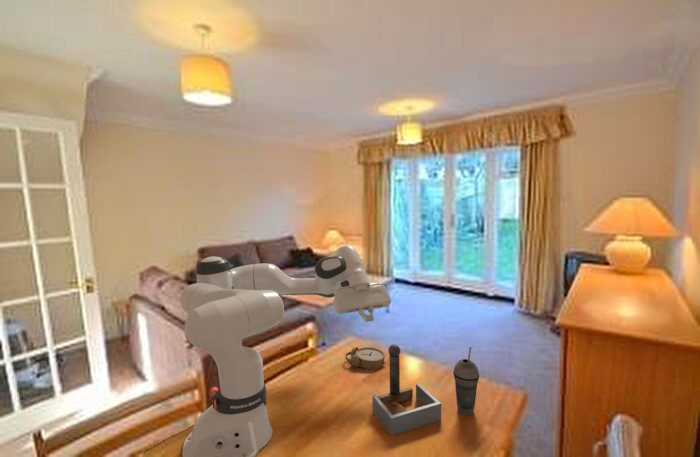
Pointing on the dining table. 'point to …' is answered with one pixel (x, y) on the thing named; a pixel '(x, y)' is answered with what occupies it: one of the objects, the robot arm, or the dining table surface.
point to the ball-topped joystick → (395, 380)
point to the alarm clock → (366, 357)
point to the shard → (395, 407)
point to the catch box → (409, 413)
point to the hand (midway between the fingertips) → (369, 320)
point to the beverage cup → (466, 385)
